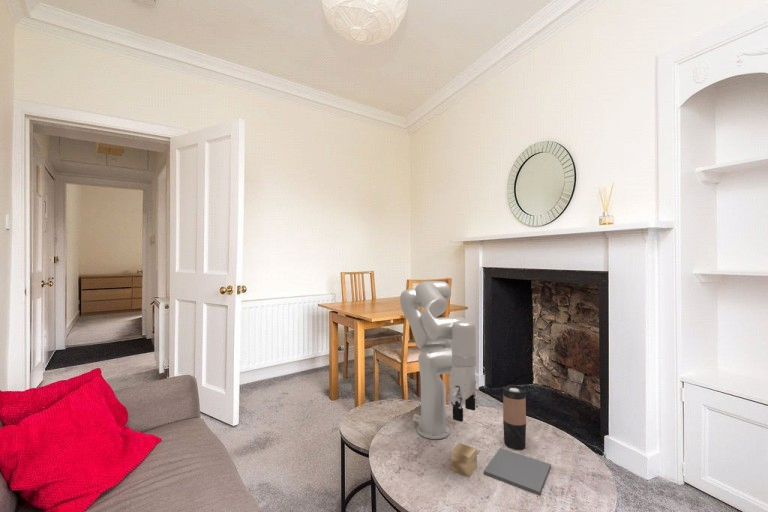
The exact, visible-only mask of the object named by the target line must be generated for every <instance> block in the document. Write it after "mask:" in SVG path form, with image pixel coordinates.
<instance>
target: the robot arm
mask: <svg viewBox="0 0 768 512" xmlns="http://www.w3.org/2000/svg"><path fill="white" fill-rule="evenodd" d="M451 296H452V288H451V287H450V285H449V283H448V282H446V281H443V280H434V281H433V280H427V281H421V282H419V283H418V284H417V285H416V287H415V288H409V289H408V288H407V289H406V290H405V289H404V290H403V291H402V292H401V294H400V296H399V297H400V298H399V302H400V303H399V304H400V308H401V311H402V313H403V315H404V317H405V319H406V320H407V322H408V323H409V326H410V329H411V332H412V335H413V338H414V339H413V340H414V342H415V344H416V346H417V348H418V349H419V350H421V351H420V353H419V354H418V356H417V357H418V358H417V360H418V368H419V374H420V414H417V413H413V417H412V422H415V423H417V426H416V431H417V433H418V435H419V436H421V437H423V438H426V439H430V440H443V439H444V438H445V439H446V438H447V437H448V436H449V435H450V433H451V432H450V431H451V429H450V427H449V426H448V425H447V421H446V412H447V411H446V410H447V409H446V407H447V406H446V398H447V397H446V396H447V395H446V392H447V391H446V384H445V382H444V381H443V379H442V378H441V377H440V375H444V374H450V385H449V386H450V387H449V388H450V389H449V390H450V392H449V395H450V401H451V402H450V403H451V407H452V420H454V421H458V422H461V423H462V422H464V408H465V409H466V410H469V411H473V412H475V411H476V393H475V392H476V389H477V388H476V387H477V386H476V384H477V381H476V370H475V369H476V367H477V352H476V351H477V349H476V348H477V341H476V340H477V336H476V334H477V333H476V331H477V329H476V324H475V323H474V322H472V321H470V320H468V319H466V318H464V317H462V316H450V317H449V316H448V317H445V316H444V317H443V316H442V317H439V316H441V315H442V314H444V313H445V311H446V310H447V307H448V303H447V302H448V301H449V300H450V299H451ZM419 308H420V309H419ZM421 308H424V309H423V310H421ZM464 401H465V402H464ZM464 403H465V405H464V408H463V404H464Z"/></svg>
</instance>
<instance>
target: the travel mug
mask: <svg viewBox="0 0 768 512" xmlns="http://www.w3.org/2000/svg"><path fill="white" fill-rule="evenodd" d="M502 388H503V389H502V390H503V391H502V392H503V393H502V397H503V400H502V401H503V402H502V405H503V406H502V407H503V408H502V409H503V410H502V411H503V412H502V413H503V414H502V417H503V418H502V422H503V424H502V425H503V442H504V445H505V447H507V448H508V449H511V450H514V451H515V450H516V451H522V450H524V449H525V448H526V440H527V439H526V438H527V436H526V435H527V407H526V404H527V402H526V401H527V400H526V388H524V387H522V386H521V385H515V384H508V385H506V386H503V387H502Z"/></svg>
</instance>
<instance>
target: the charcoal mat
mask: <svg viewBox="0 0 768 512" xmlns="http://www.w3.org/2000/svg"><path fill="white" fill-rule="evenodd" d="M551 469H552V465H551V464H550V463H548V462H545V461H542V460H539V459H536V458H533V457H530V456H527V455H524V454H520V453H517V452H514V451H512V450H508V449H506V448H502V447H499V449H498V450H497V451H496V453H495V454H494V456H493V457H492V459H491V460H490V462H489V463H488V464H487V465H486V467H485V469H483V475H484V476H485V475H486V476H488V477H490V478H493V479H496V480H499V481H501V482H503V483H505V484H508V485H511V486H513V487H517V488H519V489H522V490H524V491H527V492H530V493H532V494H535V495H537V496H540V495H541V494H542V492H543V491H542V490H543V488H544V486H545V483H546V480H547V478H548V476H549V474H550V470H551Z"/></svg>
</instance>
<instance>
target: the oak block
mask: <svg viewBox="0 0 768 512" xmlns="http://www.w3.org/2000/svg"><path fill="white" fill-rule="evenodd" d="M477 450H478V448H475V447H473V446H470V445H467V444H464V443H462V442H458V443H457V444H456V446H455V447H453V449H452V450H451V451H450V453H451V454H450V457H451V458H450V459H451V460H450V463H451V464H450V467H451V469H450V470H451V471H453V472H456V473H458V474H461V475H462V476H465V477H468V478H470V477H471V476H472V475H473V473H474V472H475V470H476V469H477V468H478V466H477V465H478V463H477V461H478V459H477V458H478V454H477V452H478V451H477Z"/></svg>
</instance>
